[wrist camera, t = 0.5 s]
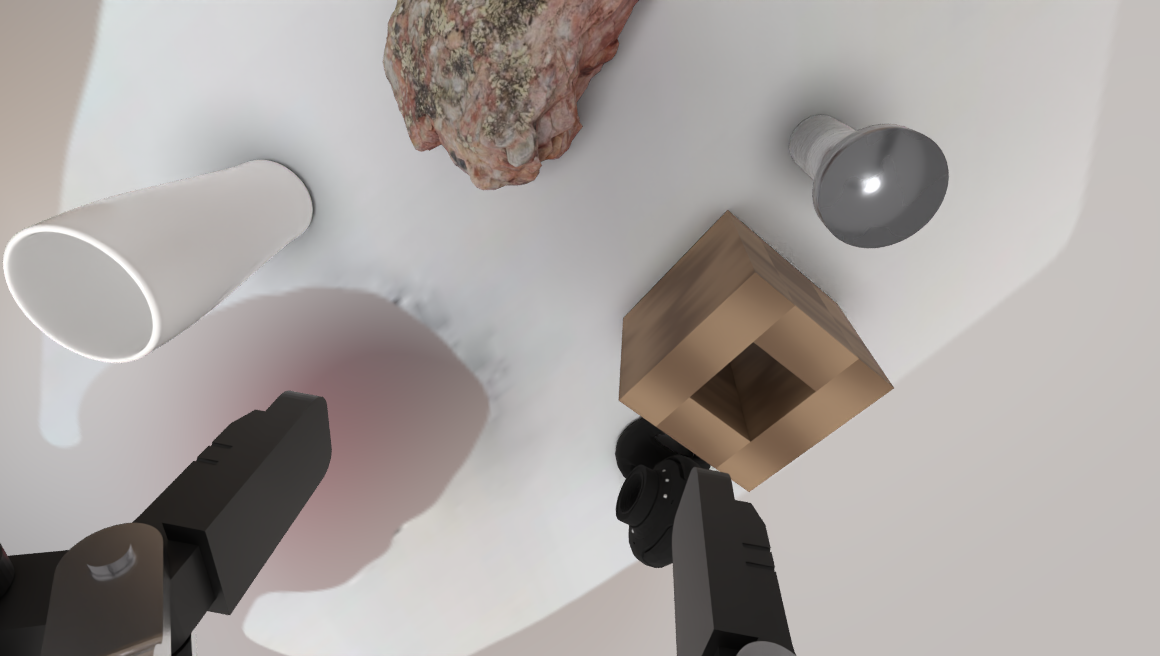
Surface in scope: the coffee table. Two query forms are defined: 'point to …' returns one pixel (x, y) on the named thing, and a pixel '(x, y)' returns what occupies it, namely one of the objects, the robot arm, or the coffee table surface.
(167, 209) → the drinking glass
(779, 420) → the block
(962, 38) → the coffee table surface
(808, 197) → the coffee table surface
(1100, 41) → the coffee table surface
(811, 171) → the pin
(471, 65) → the rock
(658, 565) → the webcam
